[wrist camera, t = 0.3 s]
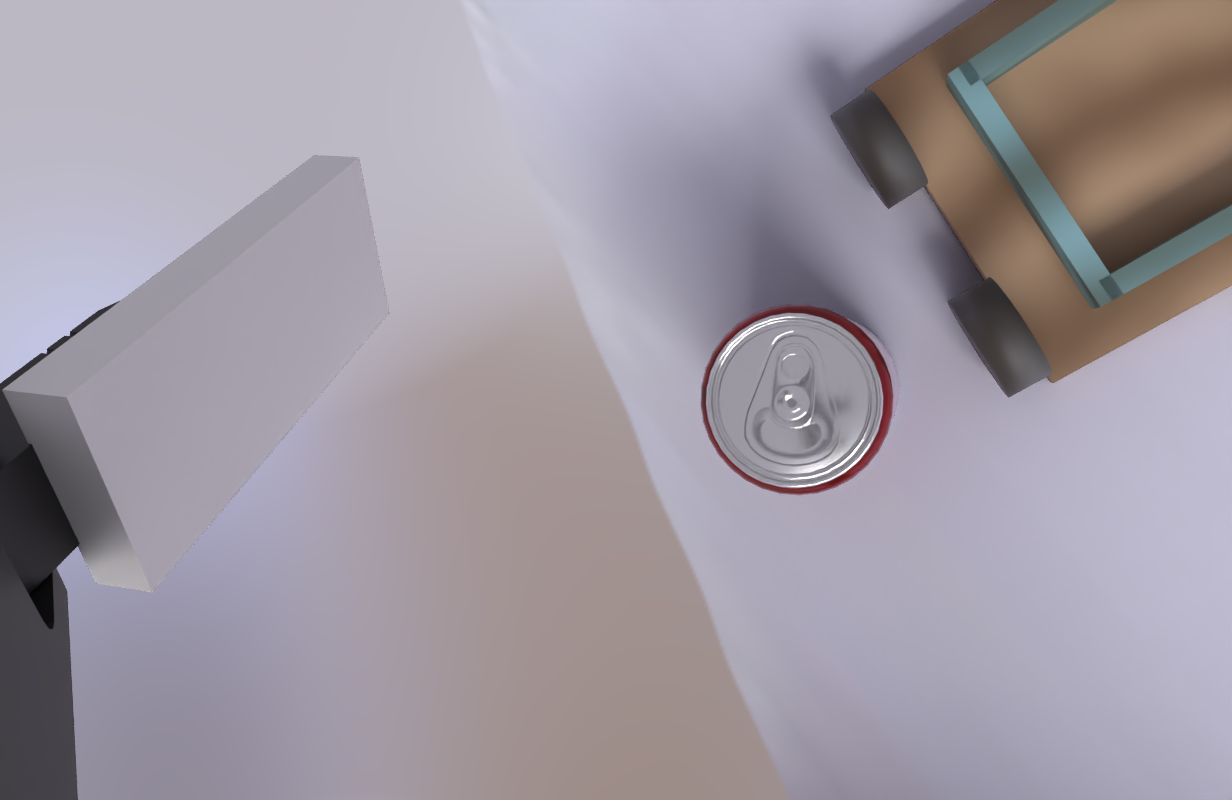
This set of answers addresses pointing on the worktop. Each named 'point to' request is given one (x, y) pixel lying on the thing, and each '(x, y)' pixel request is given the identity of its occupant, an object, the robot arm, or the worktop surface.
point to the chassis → (1065, 169)
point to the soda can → (798, 399)
